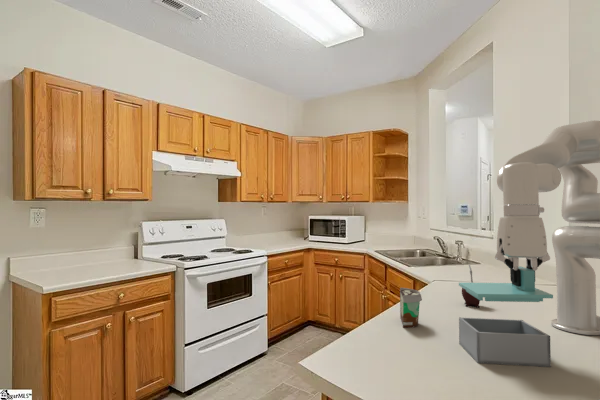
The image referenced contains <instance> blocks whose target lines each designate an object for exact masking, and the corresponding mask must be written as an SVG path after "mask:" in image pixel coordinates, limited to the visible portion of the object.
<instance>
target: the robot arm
mask: <svg viewBox="0 0 600 400" xmlns="http://www.w3.org/2000/svg"><path fill="white" fill-rule="evenodd" d="M589 164H591V165H592V164H600V120H590V121H589V120H588V121H583V122H578V123H570V124H566V125H565V124H564V125H561V126H558V127H556V128H554V129H553V130H551V131H550V132H549V133H548V134H547V136H546V137H545V138H544V139H543V140H542V141H541V143H540V144H539V145H538V146H537V145H536V146H535V147H532V148H530V149H528V150H526V151H524V152H521V153H519V154H516V155H514V156H513V157H511V158H510V159H508V160H507V161H506V162H505V163H504V164H503V165H502V167H501V168H500V169H499V171H498V173H497V175H496V176H497V177H496V183H497V184H496V185H497V187H498V188H499V190H500V191H501V192H502V193H503V194H502V195H503V198H502V199H503V201H502V202H503V217H500V218H499V222H498V227H497V236H496V254H495V256H494V258H495V260H497V261H499V262H502V263H504V264H505V265H506V266H507V268H509V272H510V273H509V275H510V283H512V284H513V285H516V286H518V287H520V286H521V271H520V270H519V268H518V266H520V265H519V259H521V258H525V268H528V269H531V270H534V272H535V273H536V271H537V270H538V268H539V267H540V266H541V265H542V264H544V263H545V262H548V261H550V260H551V256H550V254H549V253H548V243H547V233H546V229H545V225H544V220H543V217H540V215H541V213H544V212H545V208H544V207H543V206H542V207H541V206H540V200H539V199H540V198H539V194H540V193H548V192H552V191H554V190H556V189H557V188H559V186H560V185H561V182H562V179H563V191H562V200H561V217H562V219H564V221H566V222H568V223H571V224H572V223H573V224H590V225H591V224H594V225H595V224H597V225H600V192H598V185H599V181H598V178H597V176H596V175H595V174H594V173H592V172H591V171H590V170H589V169H588V168H587V167H585V166H584V165H589ZM551 242H552V247H553V252H554V256H555V258H554V259H555V266H556V267H555V271H556V273H555V274H556V276H555V277H556V316H557V318H555V319H554V318H553V319H552V320H550V321H551V323H550V324H551V325H552V326H553V327H554V328H555V329H558V330H561V331H564V332H569V333H572V334H577V335H579V334H580V335H587V336H600V316H599V315H597V286H596V285H597V284H596V283H597V282H596V281H597V280H596V272H595V269H594V268H593V267H592V265H591V264H590V262H588V261H587V260H586V259H594V260H595V259H598V260H600V226H588V225H587V226H586V225H585V226H584V225H564V226H560V227H558V228H556V229H554V231H553V233H552V235H551ZM505 256H506V257H505Z"/></svg>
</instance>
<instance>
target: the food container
mask: <svg viewBox="0 0 600 400" xmlns="http://www.w3.org/2000/svg"><path fill="white" fill-rule="evenodd" d="M422 297H423V296H422V294H421V292H420V290H419V291H418V290H416V289H413V288H408V287H400V288H399V298H400V301H399V302H400V305H399V308H400V309H399V310H400V311H399V313H400V314H399V315H400V316H399V319H400V322H401V326H402V328H404V329H405V328H406V329H407V328H408V329H410V328H412V329H413V328H416V327H418V326H419V319H420V318H419V316H420V303H421V301H422V300H423V298H422Z"/></svg>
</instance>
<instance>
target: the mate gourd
mask: <svg viewBox="0 0 600 400" xmlns="http://www.w3.org/2000/svg"><path fill="white" fill-rule="evenodd" d="M468 268H469V274H470V275H469V276H470V283H474V282H473V270H472V268H471V264H468ZM461 296H462V298H463V300H464V305H465V307H467V308H469V307H474V308H477V309H480V302H481V301H480V300H479V299H477V298H475V297H474V296H472V295H471V294H469V293H468V292H466V290H465V289H464V288H462V287H461Z"/></svg>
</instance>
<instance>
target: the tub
mask: <svg viewBox="0 0 600 400" xmlns="http://www.w3.org/2000/svg"><path fill="white" fill-rule="evenodd" d="M458 333H459V334H458V335H459V336H458V339H459V342H458V344H459V345H460V346H461V347H462V348H463V349H464V351H465V352H467V354H469V356H470V357H472V359H474V361H475V362H476V363H477V364H492V365H505V366H509V365H510V366H523V367H524V366H526V367H527V366H528V367H546V368H551V367H552V366H551V365H552V363H551V362H552V360H551V359H552V358H551V357H552V356H551V355H552V354H551V336H550V335H549V334H548V333H545V332H544V331H542V330H540V329H538V328H536V327H535V326H534V325H532V324H530V323H528V322H526V321H524V320H522V319H510V318H509V319H506V318H505V319H504V318H503V319H502V318H481V317H478V318H477V317H460V316H459V317H458Z"/></svg>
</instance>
